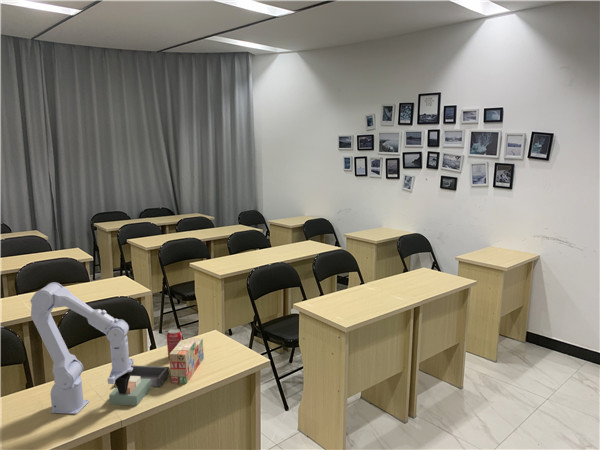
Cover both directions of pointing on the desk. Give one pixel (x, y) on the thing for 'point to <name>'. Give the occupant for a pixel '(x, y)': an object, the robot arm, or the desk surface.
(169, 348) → the beverage can
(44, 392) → the desk surface
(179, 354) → the stack of blocks
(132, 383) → the terracotta tile
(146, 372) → the tray
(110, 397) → the sage green slab
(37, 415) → the desk surface
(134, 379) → the cream tile
